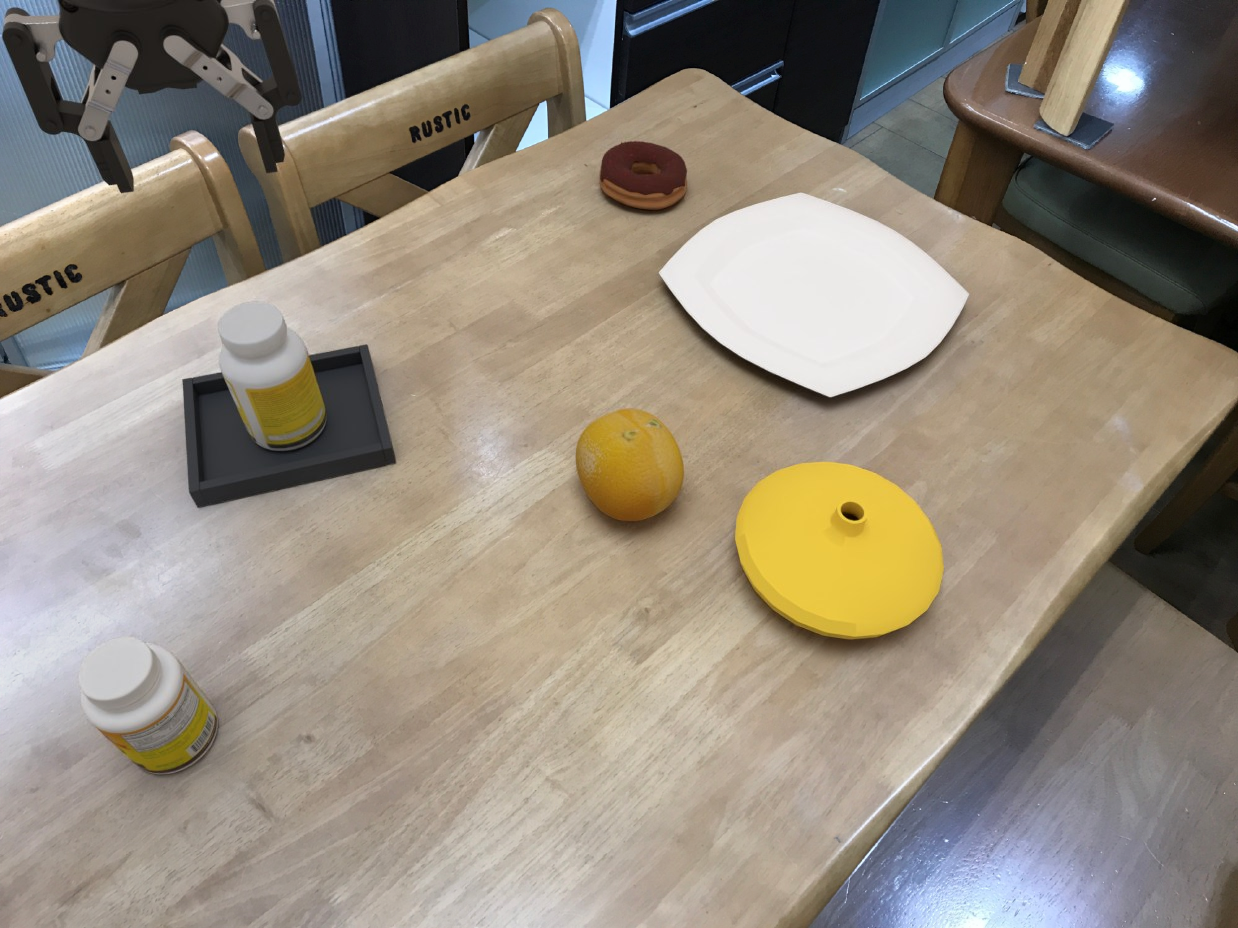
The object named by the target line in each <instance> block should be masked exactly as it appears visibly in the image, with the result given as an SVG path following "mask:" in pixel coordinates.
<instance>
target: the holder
mask: <svg viewBox="0 0 1238 928" xmlns="http://www.w3.org/2000/svg"><path fill="white" fill-rule="evenodd" d="M308 355H309V358H310V361H311V364H312V367H313V370H314V374H315V377H316V380H317V383H318V386H319V390H320V393H321V396H322V399H323V402H324V405H325V409H326V415H327V418H326V424H325V426H324V428H323V430H322V432H321V433H320V434H319V435H318V437H317V438H315V439H314V440H313V441H312V442H310V443H308V444H307V445H305V446H303V447H300V448H297V449H294V450H289V451H274V450H269V449H266V448H263V447H261V446H260V445H258V444H257V443H255V442H254V441H253V440H252V438H251V437H250V435H249V433H248V431H247V429H246V427H245V425H244V422H243V420H242V418H241V416H240V413H239V411H238V409H237V406H236V404H235V402H234V400H233V397H232V395H231V393H230V390H229V388H228V386H227V384H226V381H225V379H224V377H223V374H222V372H221V371H219V372H213V373H209V374H203V375H199V376H192V377H185V378H183V379H182V380H181V381H182V397H183V399H182V400H183V414H184V431H185V448H186V464H187V465H186V466H187V483H188V493H189V495H190V496H191V499H192V500H193V502H194V505H195V506H196V508H202V507H207V506H211V505H216V504H221V503H225V502H229V501H234V500H239V499H243V498H247V497H252V496H257V495H261V494H265V493H269V492H274V491H278V490H283V489H287V488H292V487H296V486H302V485H305V484H309V483H314V482H319V481H324V480H327V479H332V478H336V477H341V476H344V475H345V476H346V475H350V474H354V473H359V472H364V471H368V470H372V469H376V468H382V467H385V466H389V465H394V464H397V460H396V455H395V451H394V447H393V443H392V439H391V434H390V431H389V427H388V422H387V419H386V413H385V411H384V406H383V405H384V404H383V402H382V398H381V393H380V389H379V386H378V385H379V384H378V381H377V378H376V372H375V369H374V364H373V360H372V357H371V352H370V348H369V344H367V343H366V344H360V345H355V346H350V347H345V348H340V349H334V350H329V351H324V352H319V353H313V354H308Z"/></svg>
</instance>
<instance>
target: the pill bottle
mask: <svg viewBox="0 0 1238 928" xmlns="http://www.w3.org/2000/svg"><path fill="white" fill-rule="evenodd" d="M217 332H218V334H219V338H220V341H221V343H222V347H221V349H220V352H219V356H218V364H219V369H220V372H222V374H223V377H224V379H225V381H226V384H227V386H228V388H229V390H230V393H231V395H232V397H233V400H234V402H235V404H236V406H237V409H238V411H239V413H240V416H241V418H242V420H243V422H244V425H245V427H246V429H247V431H248V433H249V435H250V437H251V438H252V440H253V441H254V442H255V443H257V444H258V445H260V446H261V447H263V448H266V449H269V450H274V451H289V450H294V449H297V448H300V447H303V446H305V445H307V444H308V443H310V442H312V441H313V440H314V439H315V438H317V437H318V435H319V434H320V433H321V432H322V430H323V428H324V426H325V424H326V418H327V415H326V409H325V405H324V402H323V399H322V396H321V393H320V390H319V386H318V383H317V380H316V377H315V374H314V370H313V367H312V364H311V361H310V358H309V355H310V354H309V353H308V348H307V346H306V344H305V342H304V340H303V338H302V337H301V335H299V334H298V333H297V332H296V331H294V330H293V329H292V328H290V327H288V326H287V323H286V321H285V317H284V315H283V313H282V311H281V310H280V308H278V307H277V306H276V305H274V304H272V303H269V302H265V301H249V302H243V303H240V304H238V305H235V306H233V307H231V308H229V309H228V310H226V312H224V313H223V314H222V316H221V317H220V318H219V320H218V323H217Z"/></svg>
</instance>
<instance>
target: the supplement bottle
mask: <svg viewBox="0 0 1238 928" xmlns="http://www.w3.org/2000/svg"><path fill="white" fill-rule="evenodd" d="M193 678H194V677H192V676H191V674H190V673H189V671H188V670H187V669H186V668H185V667H184V665H183V664H182V662H181V661H180V660H179V658H178V657H177V656H176V655H175V654H174V653H173V652H172V651H171V650H170V649H168V648H167V647H165V646H163V645H161V644H157V643H152V642H144V641H143V640H141V639H139V638H137V637H132V636H119V637H114V638H112V639H109V640H107V641H104V642H102V643H100V644H99V645H97V646H96V647H95V648H94V649H92V650H91V651H90V652H89V653H88V654H87V656H85V658H84V659H83V660H82V662H81V664H80V666H79V669H78V673H77V683H78V687H79V690H80V695H79V696H80V697H79V699H80V700H79V701H80V708H81V710H82V713H83V715H84V717H85V718H86V719H87V721H88V722H89V723H90V724H91V725H92V726H93V727H94V728H95V729H96V730H97V731H99V732H100V734H102V735H103V736H104V737H105V738H106V739H107V740H108V741H109V742H110V743H112V745H114V746H115V747H116V748H117V749H118V750H119V751H120V753H122V754H123V755H124V756H125V757H127V758H128V759H129V760H130V761H131V762H132V763H133V764H134V765H135V766H137V767H138V768H139V769H141V770H143V771H144V772H147V773H149V774H153V775H170V774H174V773H178V772H181V771H183V770H185V769H187V768H190V767H191V766H193V765H194V764H195V763H197V762H198V761H199V760H200V759H201V758H202V757H204V755H205V754H206V753H207V752H208V751H209V749H210V748H211V746H212V745H213V743H214V741H215V738H216V736H217V732H218V725H219V721H218V720H219V719H218V713H217V711H216V708H215V707H214V705H213V704H212V702H211V700H210V698H208V697H207V695H206V694H205V693H204V691H203V690H202V689H201V687H200V686H199V685H198V684H197V682H196V681H195V679H193Z"/></svg>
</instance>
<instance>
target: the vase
mask: <svg viewBox="0 0 1238 928" xmlns="http://www.w3.org/2000/svg"><path fill="white" fill-rule="evenodd" d="M939 539H940V538H939V536H938V534H937V532H936V530H935V527H934V525H933V523H932V522H931V520H930V519H929V518H928V516H927V515H926V514H925V512H924V511H923V509H922V508H921V507H920V506H919V504H918V502H916V501H915V500H914V499H913V498H912V497H910V496H909V495H908V494H907V493H906V492H905V491H904V490H902V489H901V487H899V486H898V485H897V484H895V483H894V482H892V481H890V480H888V479H887V478H885V477H883V476H881V475H880V474H878V473H876V472H873V471H871V470H868V469H865V468H861V467H859V466H856V465H853V464H849V463H841V462H834V461H813V462H802V463H801V462H799V463H796V464H792V465H790V466H787V467H784V468H780V469H777V470H775V471H773V472H772V473H771V474H769V475H767V476H765V477H764V478H762V479H760V480H759V481H758V482H757V483H756V484H755V485H754V486H753V487H752V489H750V491H749V492H748V493H747V494H746V495H745V496H744V498H743V501H742V504H741V506H740V508H739V510H738V513H737V514H736V519H735V533H734V541H735V544H736V545H735V546H736V548H737V553H738V557H739V562H740V565H741V567H742V570H743V572H744V574H745V576H746V577H747V579H748V581H749V583H750V585H751V587H752V588H753V590H754V592H755V593H757V595H758V596H759V597H760V598H761V599H762V600H763V601H764V602H765V603H766V604H767V605H768V606H769V608H771V609H772V610H773V611H774V612H776V613H777V614H779V615H780V616H781V617H783V618H785V619H786V620H788V621H789V622H790V623H792V624H794V625H795V626H797V627H800V628H802V629H805V630H808V631H810V632H812V633H815V634H817V635H820V636H825V637H831V638H839V639H842V640H843V639H844V640H860V639H872V638H878V637H881V636H884V635H886V634H889V633H891V632H894V631H897V630H899V629H902V628H904V627H906V626H909V625H910V624H911V623H913V622H914V621H915V620H916V619H918V618H919V617H920V616H922V615H923V614H924V613H926V612H927V611H928V609H929V608H930V606H931V604H932V603H933V601H934V600H935V598H936V597H937V595H938V593H940V589H941V584H942V580H943V574H944V571H945V565H944V555H943V548H942V547H943V546H942V544H941V541H940V540H939Z"/></svg>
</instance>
